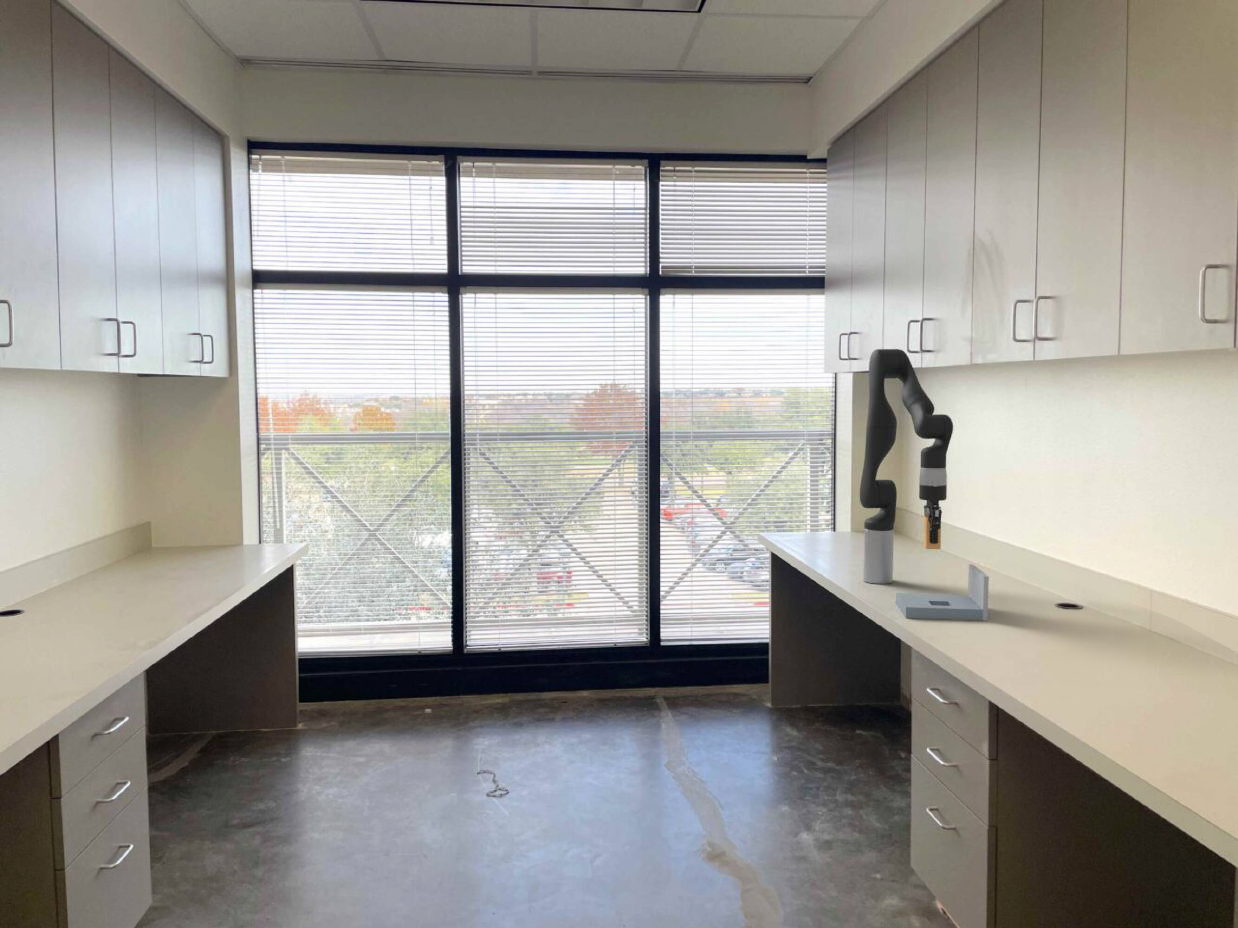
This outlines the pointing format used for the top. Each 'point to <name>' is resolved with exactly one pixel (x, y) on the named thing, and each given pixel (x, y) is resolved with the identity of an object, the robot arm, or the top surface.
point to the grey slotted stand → (950, 601)
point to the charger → (927, 536)
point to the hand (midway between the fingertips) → (932, 541)
